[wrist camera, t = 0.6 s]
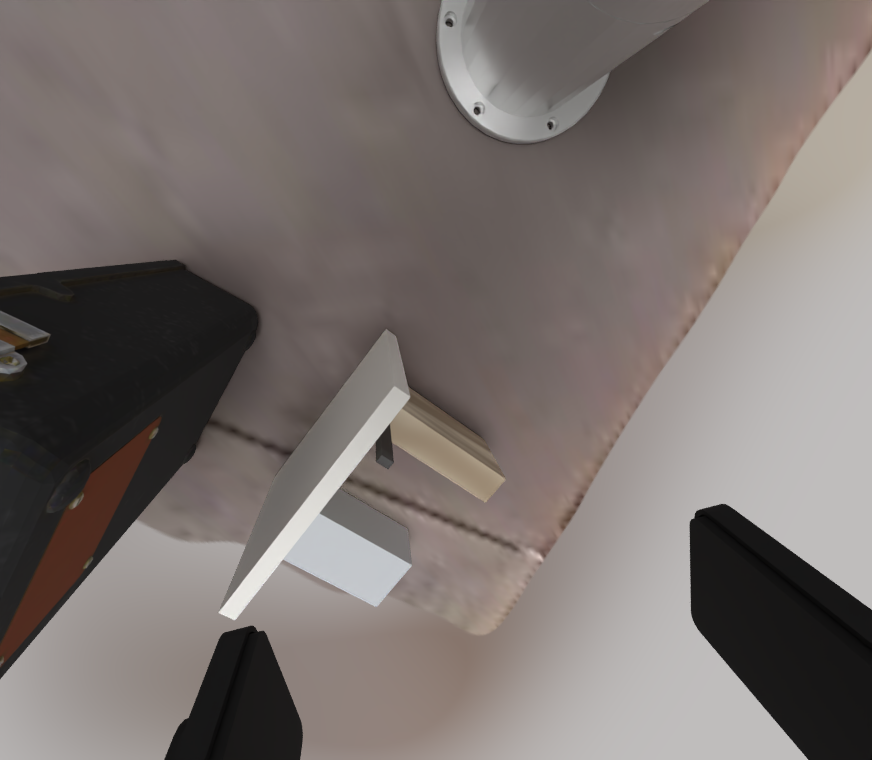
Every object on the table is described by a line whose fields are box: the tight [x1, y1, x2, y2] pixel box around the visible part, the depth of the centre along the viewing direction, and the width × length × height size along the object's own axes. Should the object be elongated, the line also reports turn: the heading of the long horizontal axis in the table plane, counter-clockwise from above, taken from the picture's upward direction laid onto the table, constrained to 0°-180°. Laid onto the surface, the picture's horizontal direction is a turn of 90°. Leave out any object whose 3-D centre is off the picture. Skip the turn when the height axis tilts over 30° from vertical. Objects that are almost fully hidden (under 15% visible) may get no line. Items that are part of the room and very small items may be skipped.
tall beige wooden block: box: [376, 387, 506, 503], centre depth 32 cm, size 2×11×14 cm, turn 52°
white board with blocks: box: [219, 329, 412, 620], centre depth 32 cm, size 19×13×15 cm
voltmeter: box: [0, 260, 258, 679], centre depth 23 cm, size 16×9×25 cm, turn 148°
